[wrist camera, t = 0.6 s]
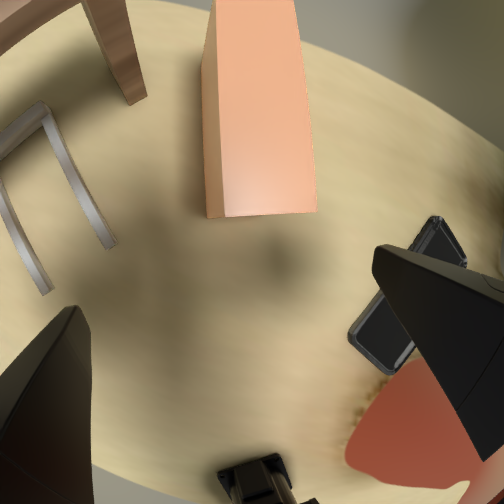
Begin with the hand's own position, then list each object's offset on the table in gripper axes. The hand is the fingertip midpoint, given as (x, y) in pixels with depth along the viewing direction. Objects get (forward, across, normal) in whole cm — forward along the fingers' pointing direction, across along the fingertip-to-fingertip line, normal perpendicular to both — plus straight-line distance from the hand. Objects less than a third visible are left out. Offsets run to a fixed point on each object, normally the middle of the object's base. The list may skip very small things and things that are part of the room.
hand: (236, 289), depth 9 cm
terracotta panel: (+16, -3, -2) cm, 16 cm away
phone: (+10, -18, +13) cm, 25 cm away
